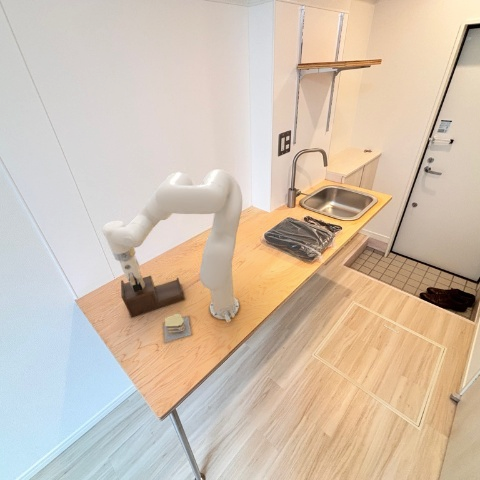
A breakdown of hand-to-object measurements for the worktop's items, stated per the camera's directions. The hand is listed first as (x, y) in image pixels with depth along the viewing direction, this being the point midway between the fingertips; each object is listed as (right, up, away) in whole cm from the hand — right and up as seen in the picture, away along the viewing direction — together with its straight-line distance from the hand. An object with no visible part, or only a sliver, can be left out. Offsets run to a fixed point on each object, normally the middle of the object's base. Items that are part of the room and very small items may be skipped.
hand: (138, 285), depth 103 cm
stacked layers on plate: (+18, -17, -4) cm, 25 cm away
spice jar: (0, -1, +1) cm, 1 cm away
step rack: (+6, -8, +9) cm, 13 cm away
